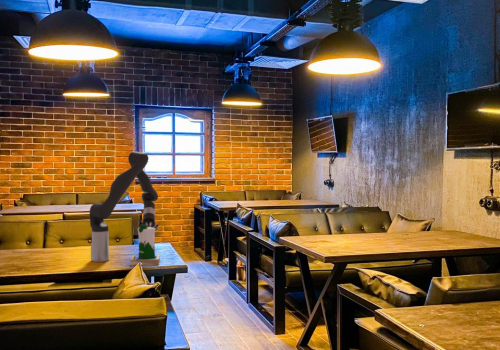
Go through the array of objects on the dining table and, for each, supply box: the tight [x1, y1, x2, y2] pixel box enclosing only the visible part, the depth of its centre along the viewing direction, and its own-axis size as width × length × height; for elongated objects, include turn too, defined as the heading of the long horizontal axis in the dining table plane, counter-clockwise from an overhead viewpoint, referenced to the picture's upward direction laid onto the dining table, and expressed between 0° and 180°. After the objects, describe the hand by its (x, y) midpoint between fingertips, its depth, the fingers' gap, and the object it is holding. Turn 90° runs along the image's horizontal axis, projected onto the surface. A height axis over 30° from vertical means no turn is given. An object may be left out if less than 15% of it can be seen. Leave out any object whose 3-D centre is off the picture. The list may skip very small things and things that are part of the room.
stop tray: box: [129, 253, 161, 267], centre depth 279 cm, size 15×15×3 cm
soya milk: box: [137, 224, 156, 260], centre depth 291 cm, size 9×9×20 cm
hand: (148, 237), depth 305 cm, fingers closed
